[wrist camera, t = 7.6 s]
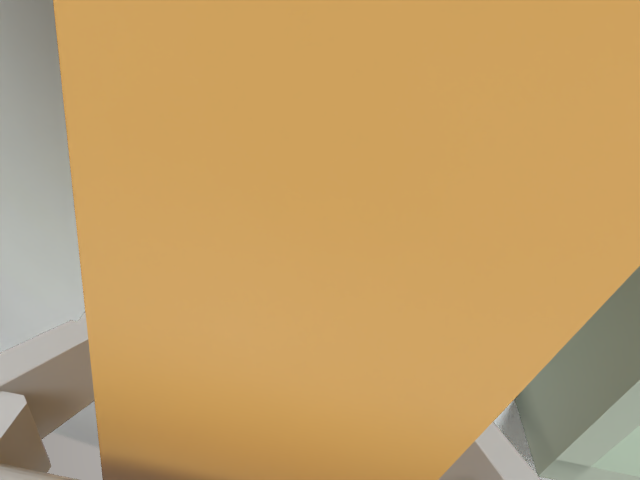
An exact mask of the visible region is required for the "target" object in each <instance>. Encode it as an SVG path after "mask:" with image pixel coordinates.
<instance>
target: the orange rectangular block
mask: <svg viewBox="0 0 640 480" xmlns="http://www.w3.org/2000/svg"><path fill="white" fill-rule="evenodd" d="M53 4H54V14H55V24H56V33H57V43H58V53H59V62H60V72H61V81H62V91H63V101H64V110H65V120H66V130H67V139H68V149H69V159H70V168H71V178H72V187H73V197H74V207H75V216H76V226H77V236H78V245H79V255H80V264H81V274H82V284H83V293H84V303H85V313H86V322H87V332H88V341H89V351H90V361H91V370H92V380H93V390H94V399H95V409H96V419H97V428H98V438H99V447H100V457H101V467H102V476H103V480H439V478H440V477H441V476H442V475H443V474H444V473H445V472H446V471H447V470H448V469H449V468H450V467H451V466H452V465H453V464H454V463H455V461H456V460H457V459H458V458H459V457H460V456H461V455H462V454H463V453H464V452H465V451H466V450H467V449H468V448H469V447H470V446H471V444H472V443H473V442H474V441H475V440H476V439H477V438H478V437H479V436H480V435H481V434H482V433H483V432H484V431H485V430H486V429H487V427H488V426H489V425H490V424H491V423H492V422H493V421H494V420H495V419H496V418H497V417H498V416H499V415H500V414H501V413H502V412H503V410H504V409H505V408H506V407H507V406H508V405H509V404H510V403H511V402H512V401H513V400H514V399H515V398H516V397H517V396H518V395H519V393H520V392H521V391H522V390H523V389H524V388H525V387H526V386H527V385H528V384H529V383H530V382H531V381H532V380H533V379H534V378H535V376H536V375H537V374H538V373H539V372H540V371H541V370H542V369H543V368H544V367H545V366H546V365H547V364H548V363H549V362H550V361H551V359H552V358H553V357H554V356H555V355H556V354H557V353H558V352H559V351H560V350H561V349H562V348H563V347H564V346H565V345H566V344H567V342H568V341H569V340H570V339H571V338H572V337H573V336H574V335H575V334H576V333H577V332H578V331H579V330H580V329H581V328H582V327H583V325H584V324H585V323H586V322H587V321H588V320H589V319H590V318H591V317H592V316H593V315H594V314H595V313H596V312H597V311H598V310H599V308H600V307H601V306H602V305H603V304H604V303H605V302H606V301H607V300H608V299H609V298H610V297H611V296H612V295H613V294H614V293H615V291H616V290H617V289H618V288H619V287H620V286H621V285H622V284H623V283H624V282H625V281H626V280H627V279H628V278H629V277H630V276H631V274H632V273H633V272H634V271H635V270H636V269H637V268H638V267H639V266H640V0H53Z"/></svg>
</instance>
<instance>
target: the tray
mask: <svg viewBox="0 0 640 480" xmlns="http://www.w3.org/2000/svg"><path fill="white" fill-rule="evenodd" d="M515 402H516V405H517V408H518V412H519V415H520V418H521V422H522V425H523V428H524V432H525V435H526V438H527V442H528V445H529V448H530V452H531V455H532V458H533V461H534V465H535V468H536V471H537V475H538V476H539V477H544V478H549V479H554V480H640V266H639V267H638V268H637V269H636V270H635V271H634V272H633V273H632V274H631V276H630V277H629V278H628V279H627V280H626V281H625V282H624V283H623V284H622V285H621V286H620V287H619V288H618V289H617V290H616V291H615V293H614V294H613V295H612V296H611V297H610V298H609V299H608V300H607V301H606V302H605V303H604V304H603V305H602V306H601V307H600V308H599V310H598V311H597V312H596V313H595V314H594V315H593V316H592V317H591V318H590V319H589V320H588V321H587V322H586V323H585V324H584V325H583V327H582V328H581V329H580V330H579V331H578V332H577V333H576V334H575V335H574V336H573V337H572V338H571V339H570V340H569V341H568V342H567V344H566V345H565V346H564V347H563V348H562V349H561V350H560V351H559V352H558V353H557V354H556V355H555V356H554V357H553V358H552V359H551V361H550V362H549V363H548V364H547V365H546V366H545V367H544V368H543V369H542V370H541V371H540V372H539V373H538V374H537V375H536V376H535V378H534V379H533V380H532V381H531V382H530V383H529V384H528V385H527V386H526V387H525V388H524V389H523V390H522V392H521V393H520V394H519V395H518V397H517V398H516V399H515Z"/></svg>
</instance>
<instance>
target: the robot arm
mask: <svg viewBox="0 0 640 480" xmlns="http://www.w3.org/2000/svg"><path fill="white" fill-rule="evenodd" d="M93 401H95V399H94V390H93V380H92V370H91V361H90V351H89V341H88V332H87V322H86V313H85V312H84V314H83V315H82V316H81V317H80V319H79V320H78V321H73V320H70V321H68V322H66V323H63V324H61V325H59V326H57V327H55V328H53V329H50V330H48V331H46V332H44V333H42V334H40V335H38V336H35V337H33V338H31V339H29V340H27V341H25V342H23V343H20V344H18V345H16V346H14V347H12V348H10V349H7V350H5V351H3V352H1V353H0V480H78V479H73V478H68V477H63V476H59V475H54V474H49V473H47V472H48V470H49V469H50V467H51V464H50V460H49V457H48V455H47V452H46V450H45V447H44V445H43V442H42V440H41V439H43V438H44V437H45V436H47V435H48V434H49V433H51V432H52V431H54V430H55V429H56V428H58V427H59V426H61V425H62V424H63V423H65V422H66V421H67V420H69V419H70V418H71V417H73V416H74V415H76V414H77V413H78V412H80V411H81V410H82V409H84V408H85V407H86V406H88V405H89V404H91V403H92V402H93ZM439 480H541V479H540V478H539V477H538V475H537V474H536V473H535V472H534V471H533V469H532V468H531V467H530V466H529V465H528V463H527V462H526V461H525V460H524V458H523V457H522V456H521V455H520V454H519V452H518V451H517V450H516V449H515V448H514V446H513V445H512V444H511V443H510V441H509V440H508V439H507V438H506V437H505V435H504V434H503V433H502V432H501V430H500V429H499V428H498V427H497V426H496V424H495V423H494V422H492V423H491V424H490V425H489V426H488V427H487V429H486V430H485V431H484V432H483V433H482V434H481V435H480V436H479V437H478V438H477V439H476V440H475V441H474V442H473V443H472V444H471V446H470V447H469V448H468V449H467V450H466V451H465V452H464V453H463V454H462V455H461V456H460V457H459V458H458V459H457V460H456V461H455V463H454V464H453V465H452V466H451V467H450V468H449V469H448V470H447V471H446V472H445V473H444V474H443V475H442V476H441V477H440V478H439Z"/></svg>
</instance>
